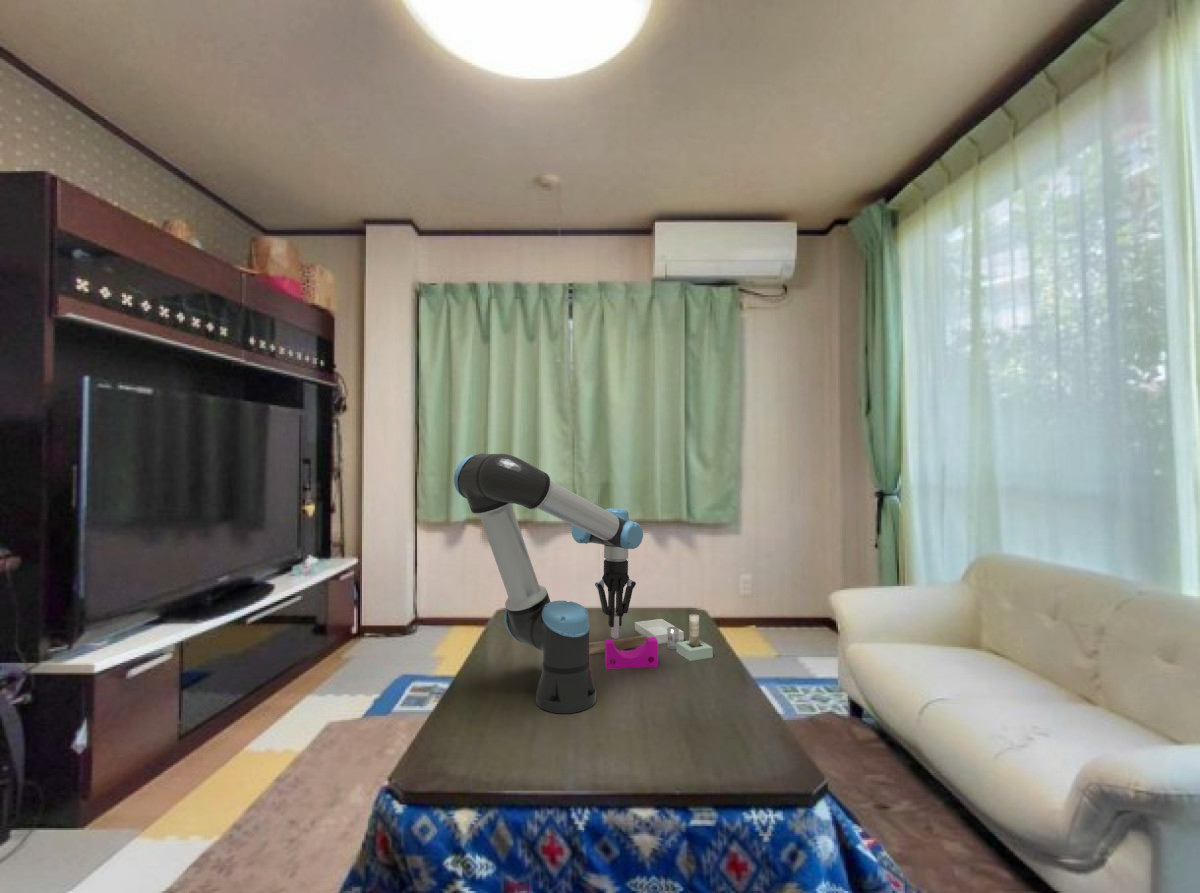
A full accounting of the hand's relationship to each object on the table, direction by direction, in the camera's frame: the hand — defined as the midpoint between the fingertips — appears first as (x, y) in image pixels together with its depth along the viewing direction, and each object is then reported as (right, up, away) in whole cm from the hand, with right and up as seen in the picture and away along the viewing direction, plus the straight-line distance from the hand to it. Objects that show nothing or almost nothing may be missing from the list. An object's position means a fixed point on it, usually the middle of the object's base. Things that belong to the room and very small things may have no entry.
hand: (614, 637), depth 167 cm
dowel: (+24, -6, +1) cm, 25 cm away
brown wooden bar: (0, -6, +6) cm, 8 cm away
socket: (+24, -6, +1) cm, 25 cm away
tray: (+15, -6, +19) cm, 25 cm away
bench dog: (+19, -6, +7) cm, 21 cm away
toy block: (+5, -6, -6) cm, 10 cm away
